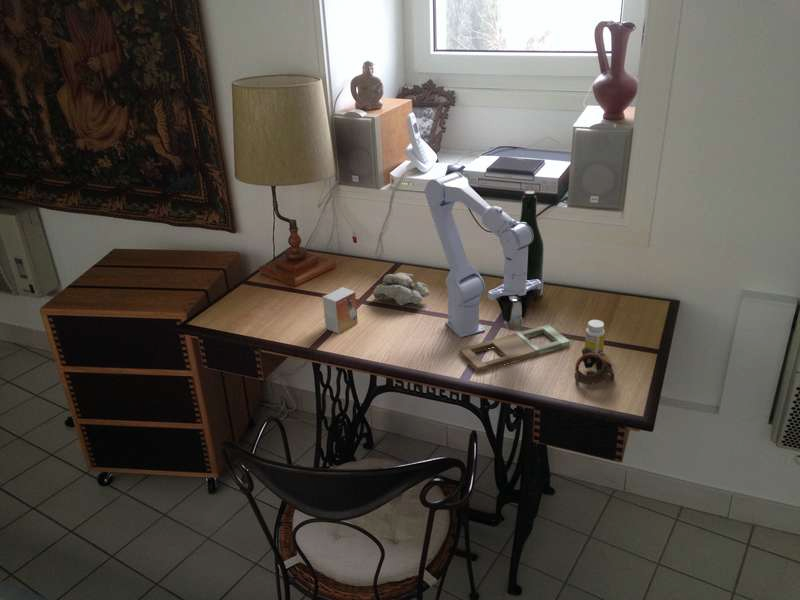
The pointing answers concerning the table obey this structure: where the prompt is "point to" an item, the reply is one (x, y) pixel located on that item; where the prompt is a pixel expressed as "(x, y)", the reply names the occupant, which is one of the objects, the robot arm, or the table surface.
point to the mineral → (401, 289)
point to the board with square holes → (513, 347)
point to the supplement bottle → (595, 336)
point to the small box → (340, 310)
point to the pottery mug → (589, 361)
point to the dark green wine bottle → (536, 246)
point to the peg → (515, 314)
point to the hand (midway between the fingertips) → (513, 318)
